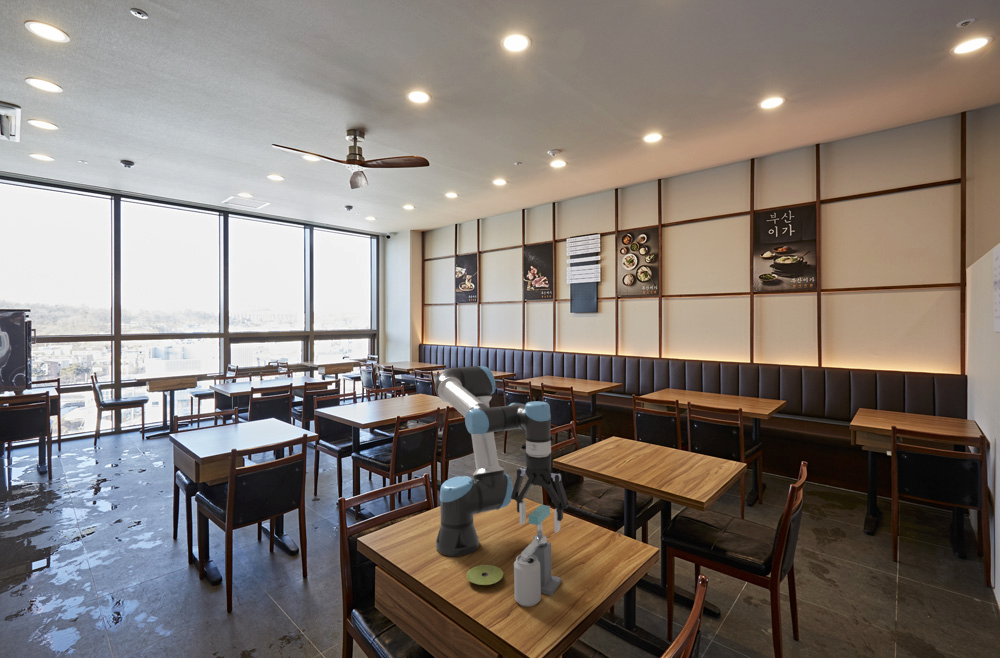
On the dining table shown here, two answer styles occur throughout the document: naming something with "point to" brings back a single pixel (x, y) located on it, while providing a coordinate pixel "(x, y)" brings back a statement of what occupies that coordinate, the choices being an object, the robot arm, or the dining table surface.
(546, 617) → the dining table surface
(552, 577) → the grey pedestal post
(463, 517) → the robot arm
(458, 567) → the dining table surface
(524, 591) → the can
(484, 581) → the mat
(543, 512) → the teal grip latch lever
